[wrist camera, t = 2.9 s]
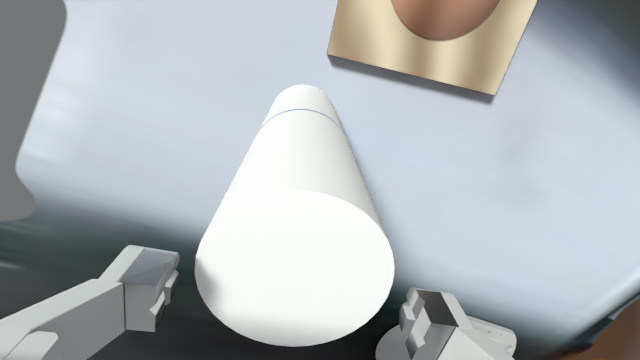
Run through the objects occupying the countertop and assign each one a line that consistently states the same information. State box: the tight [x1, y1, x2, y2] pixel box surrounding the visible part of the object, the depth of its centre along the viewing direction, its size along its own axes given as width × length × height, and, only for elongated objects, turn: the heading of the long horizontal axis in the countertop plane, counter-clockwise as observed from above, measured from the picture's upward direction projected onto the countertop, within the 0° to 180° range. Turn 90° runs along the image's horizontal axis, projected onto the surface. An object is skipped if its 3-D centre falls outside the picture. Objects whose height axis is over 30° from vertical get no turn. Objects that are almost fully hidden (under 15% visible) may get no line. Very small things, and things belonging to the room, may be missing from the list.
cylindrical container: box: [195, 85, 395, 346], centre depth 22 cm, size 7×7×25 cm
